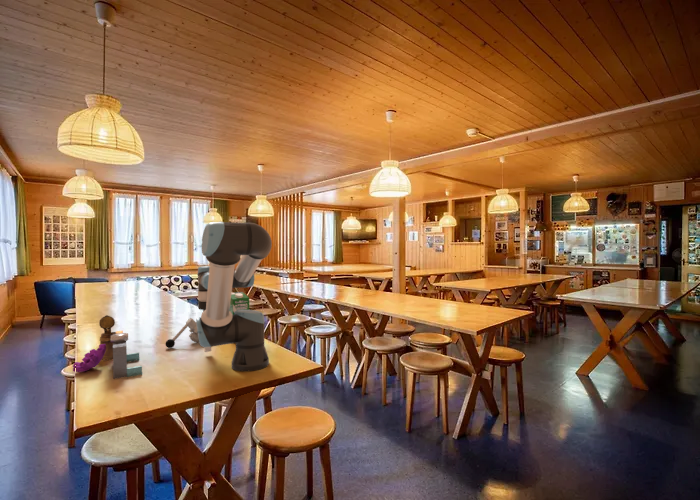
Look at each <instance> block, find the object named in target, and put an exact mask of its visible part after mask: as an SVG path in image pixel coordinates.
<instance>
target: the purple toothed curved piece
mask: <svg viewBox="0 0 700 500" xmlns="http://www.w3.org/2000/svg"><path fill="white" fill-rule="evenodd" d="M105 351H106V344H101V345H100V344H99V346H98V348H97V349H95V348H91V350H89V352H86V353H85V354H84V357H83V358H82V359H81V360H82V361H80V362H79V361H78V362H77V361H76V362H74V363H73V365H72V372H74V373H83V372H88V371H90V370H91V369H94V368H95V367H97V366H98V365H99V364H100V363H101V362H102V361H103V360H102V358H103V356H104V354H105ZM75 365H76V366H75ZM75 368H76V372H75Z"/></svg>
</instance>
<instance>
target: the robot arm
mask: <svg viewBox="0 0 700 500" xmlns="http://www.w3.org/2000/svg"><path fill="white" fill-rule="evenodd" d="M272 242H273V240H272V238H271V236H270V233H269V232H268V231H267V230H266V229H265V228H264V227H263V226H262V225H260V224H257V223H255V222H235V221H234V222H229V221H228V222H227V221H213V222H209V223H207V224H206V225H205V227H204V228H203V233H202V237H201V253H202V255H203V256H205V259H206V261H207V262H209V265H207V266H206V265H205V266H199V267H198V268H197V300H198V302H197V304H198V305H197V306H198V309H199V310H202V312H201V314H200V317H197V318H196V319H195V322H196V324H197V331H198V338H199V343H198V344H199V345H200V347H203V349H204V353H208V352H212V347H218V346H222V345H223V346H224V345H230V344H235V350H234V353H233V357H232V360H231V369H232V370H233V371H237V372H254V371H259V370H262V369H265V368H266V367H267V368H268V366H269V365H270V361H269V360H270V359H269V356H268V353H267V352H268V351H267V350H266V347H265V323H266V322H265V315H264V313H263V312H261V311H260V310H255V309H249V310H236V311H235V314H234V315H232V313H231V312H230V311H229V309H230V301H231V293H233V292H232V291H233V289H237V288H240V289H241V288H249V287H250V288H251V287H253V286H254V284H255V272H256V270H257V268H258V267H259V265H260V264H261V261H263V260H264V259H266V257H268V255H269V254H270V253H271V250H272V247H273V245H272V244H273V243H272ZM236 265H237V266H236ZM235 266H236V267H235Z"/></svg>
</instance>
